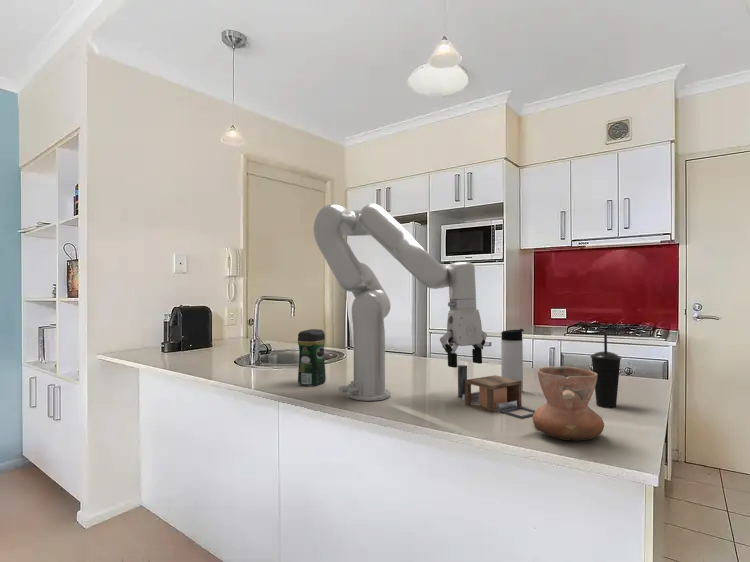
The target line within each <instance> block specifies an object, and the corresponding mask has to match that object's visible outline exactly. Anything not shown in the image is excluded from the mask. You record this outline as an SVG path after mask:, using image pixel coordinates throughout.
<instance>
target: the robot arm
mask: <svg viewBox="0 0 750 562" xmlns="http://www.w3.org/2000/svg"><path fill="white" fill-rule="evenodd" d="M313 235H314V238H315V239H314V240H315V242H316V244H317V247H318V249H319V251H320V252H321V254H322V256H323V257H324V259H325V261H326V263H327V265H328V267H329V269H330V270H331V272H332V274H333V275H334V278H335V280H336V281H337V283H338V284H339V286H340V288H341V289H342V290H343V291H346V292H351V293H352V294H353V296H354V300H353V301H352V304H351V320H352V331H353V334H352V335H353V380H352V381H351V380H350V382H349V384H348V385H340V386H339V387H338V391H339V393H340V394H342V393H347V394H348V397H349V398H350V399H352V400H355V401H365V402H369V401H370V402H373V401H382V400H386V399H389V398H390V397H391V391H390V390H388V389H386V331H385V321H384V319H385V318H386V317H388V315H389V313H390V311H391V301H390V298H389V296H388V295H387V292H386V291H385V289H384V288H383V286H382V284H381V283H380V281H379V279H378V278H377V276H376V274H375V273H374V271H373V270H372V269H371V268H370V266H368V265H367V264H365V263H363V262H360V261H359V259H358V258H357V257H356V255H355V253H354V251H352V250H353V249H352V248H351V246H350V245H349V243H348V242H347V240H346V239H345V237H344V236H346V237H347V236H348V237H352V236H353V237H355V236H357V237H359V236H360V237H361V236H363V237H364V236H371V237H372V238H373V239H374V240H375V241H376V242H377V243H379V244H380V245H381V246H382V247H383V248H384V249H385V250H386V251H387V252H388V253H389V254H390V255H391V256H392V257H393V258H394V259H395V260H397V261H398V262H399V263H400V264H401V265H402V266H403V267H404V268H405V269H406V270H407V271H408V272H409V273H410V274H411V275H413V277H414V278H415V279H416V280H417V281H418V282H420V284H422V285H423V286H424V287H426V288H427V289H432V290H433V289H434V290H438V289H444V288H448V294H449V296H448V298H449V301H448V303H447V306H448V307H449V310H448V314H447V321H446V323H447V325H446V333H445V334H443V335H442V336H441V337H439V341H440V343H441V345H442V347H441V348H443V349H444V352H445V353H447V366H448V367H449V368H453V369H455V368H457V369H458V353H456V352H457V349H458V348H459V347H465V346H472V347H473V348H472V350H471V354H472V363H474V364H481V365H482V364H483V351H482V350H484V346H485V344H486V340H487V337H488V334H487V332H485V331H484V330H483V327H482V326H483V325H482V320H481V319H482V318H481V315H480V311H479V309H477V292H476V291H477V290H476V288H477V287H476V267H475V265H474V263H472V262H468V261H463V262H462V261H461V262H458V261H457V262H452V263H450V264H444V263H443V264H442V263H440V262H439V261H437V260H436V259H435V258H434V257H433V255H431V254H430V253H429V252H428V251H427V250H425V249H424V248H423V247H422V246H421V244H419V243H418V242H417V240H416V239H415V237H414V235H413V234H412V233H411V232H410V231H409V230H407V229H406V228H405V227H404V226H403V225H402V224H401V222H399V221H397V219H396V218H394V217H393V216H392V215H391V214H390V212H388V211H387V210H386V209H384V207H383V206H381V205H380V204H376V203H367V204H365V206H363V207H362V208H361V209H347V208H346V207H344V206H342V205H340V204H336V203H329V204H327V205H324V206H323V207H322V208H321V209H319V211H318V213H317V214H316V216H315V219H314V222H313Z"/></svg>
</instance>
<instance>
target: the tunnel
mask: <svg viewBox="0 0 750 562" xmlns="http://www.w3.org/2000/svg"><path fill="white" fill-rule="evenodd" d="M472 386H477V387H479V386H480V387H484V388H487V408H485V407H481V406H478V405H474V404H471V393H472ZM500 387H507V401H512V400H516V401H517V407H523V406H522V403H523V402H522V392H521V381H520V380H515V379H510V378H506V377H502V375H497V374H495V375H489V376H481V377H477V378H470V379H469V378H467V380H465V402H464V405H465V406H467V407H471V408H475V409H477V410H481V411H484V412H487V413H491V414H492V413H494V411H495V410H493V389H495V388H500Z"/></svg>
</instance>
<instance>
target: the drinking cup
mask: <svg viewBox="0 0 750 562" xmlns="http://www.w3.org/2000/svg"><path fill="white" fill-rule="evenodd" d="M603 338H604V339H603V344H604V345H603V347H604V348H603V351H598V352H595V353H593V354H590V358H591V365H592V372H595V373H597V382H596V386H595V388H594V392H595V402H596V406H598V405H599V406H598V407H600V406H602V407H601V408H606V407H609V408H608V409H610V408H611V409H614V408H613V407H615V408H617V400H618V389H619V379H620V378H619V377H620V368H621V367H620V366H621V360H622V357H623V356H620V355H619V354H616V353H615V352H610V351H608V333H607V332H604V333H603Z"/></svg>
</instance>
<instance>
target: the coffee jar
mask: <svg viewBox="0 0 750 562" xmlns="http://www.w3.org/2000/svg"><path fill="white" fill-rule="evenodd" d="M325 343H326V335H325V331H323V329H316V328H313V329H307V330H302V331H299V332H298V333H297V345H298V349H299V350H298V370H297V371H298V372H297V384H299V385H301V386H303V387H309V386H310V387H312V386H315V387H316V386H319V385H321V384H324V383H325V382H326V381H327V380H326V379H327V377H326V376H327V375H326V365H325V363H326V362H325V361H326V360H325V345H326V344H325Z"/></svg>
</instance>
